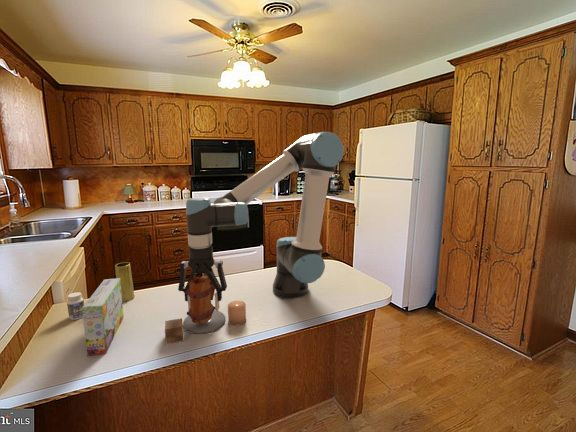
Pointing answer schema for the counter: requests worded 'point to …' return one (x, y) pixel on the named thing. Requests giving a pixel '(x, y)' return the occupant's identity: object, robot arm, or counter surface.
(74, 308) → the pill bottle
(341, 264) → the counter surface
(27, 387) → the counter surface
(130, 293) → the vase
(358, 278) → the counter surface
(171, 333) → the walnut block
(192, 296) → the mug
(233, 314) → the peach rounded cylinder
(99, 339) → the snack box
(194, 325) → the gray ellipsoid
